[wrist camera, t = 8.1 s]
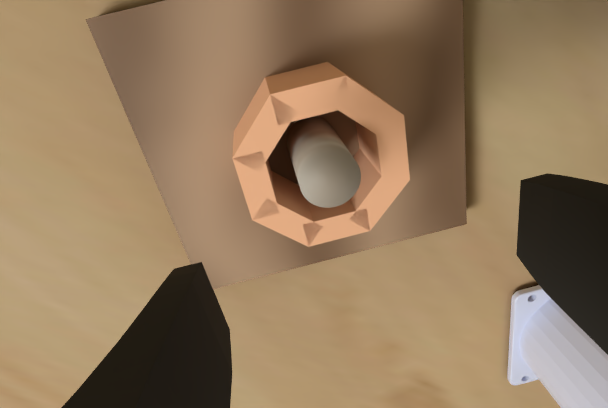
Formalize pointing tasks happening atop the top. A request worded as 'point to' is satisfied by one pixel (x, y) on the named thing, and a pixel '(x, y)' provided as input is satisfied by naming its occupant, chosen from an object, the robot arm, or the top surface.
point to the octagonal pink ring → (370, 157)
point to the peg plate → (299, 134)
